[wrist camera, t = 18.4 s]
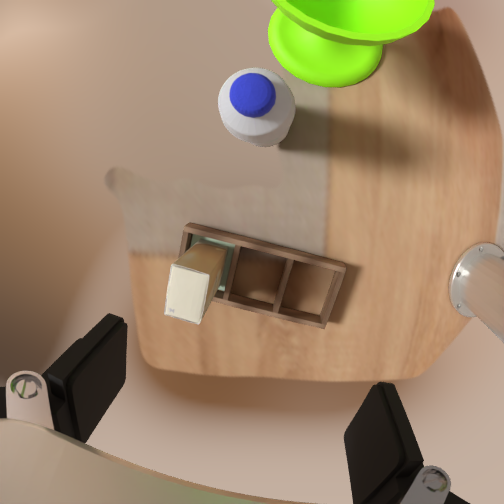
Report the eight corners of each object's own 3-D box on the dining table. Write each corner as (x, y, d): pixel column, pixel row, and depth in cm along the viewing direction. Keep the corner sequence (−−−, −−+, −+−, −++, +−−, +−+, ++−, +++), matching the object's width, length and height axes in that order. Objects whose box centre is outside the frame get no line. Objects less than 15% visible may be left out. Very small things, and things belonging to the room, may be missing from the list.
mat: (236, 241, 44) (235, 242, 43) (224, 289, 46) (224, 291, 46) (194, 230, 44) (193, 231, 44) (185, 279, 46) (184, 280, 46)
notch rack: (343, 262, 43) (346, 268, 41) (322, 320, 46) (324, 329, 44) (189, 222, 44) (184, 226, 41) (178, 283, 46) (173, 289, 44)
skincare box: (220, 286, 45) (199, 328, 34) (191, 278, 46) (162, 317, 34) (230, 244, 44) (210, 275, 32) (199, 236, 44) (170, 263, 32)
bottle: (262, 90, 38) (244, 33, 19) (301, 121, 39) (318, 87, 19) (229, 128, 40) (183, 101, 21) (268, 159, 40) (256, 157, 21)
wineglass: (326, -25, 32) (342, -99, 14) (404, 49, 34) (463, 0, 17) (243, 30, 36) (219, -40, 18) (324, 110, 38) (353, 75, 21)
